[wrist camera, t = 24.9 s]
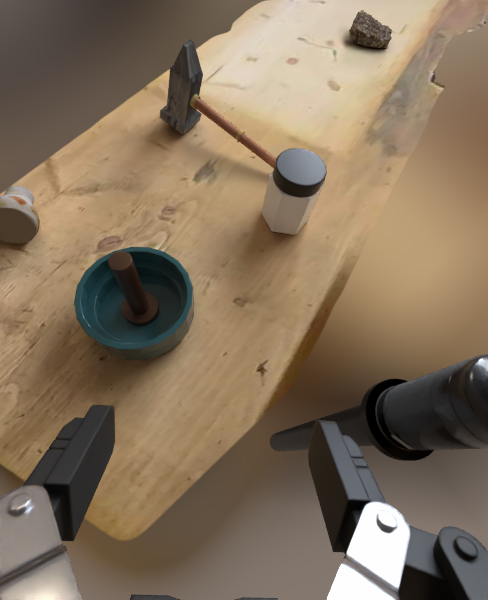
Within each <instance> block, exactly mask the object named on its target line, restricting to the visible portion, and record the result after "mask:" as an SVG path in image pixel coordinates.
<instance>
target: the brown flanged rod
mask: <svg viewBox="0 0 488 600" xmlns="http://www.w3.org/2000/svg"><path fill="white" fill-rule="evenodd" d="M108 264H109V266H110V268H111V270H112V272H113V274H114V276H115V278H116V280H117V282H118V284H119V286H120V288H121V290H122V292H123V294H124V296H125V298H126V299H125V300H124V302H123V305H122V312H123V315H124V317H125V318H126V320H127V321H128V322H129V323H131V324H133V325H136V326H144V325H147V324H149V323H151V322H152V321H154V320H155V319H156V317H157V315H158V313H159V305H158V302H157V299H156V298H155V297H154V296H153V295H152V294H150V293H148V292H144V290H143V287H142V284H141V282H140V279H139V276H138V273H137V271H136V268H135V265H134V263H133V260H132V257H131V255H130V254H128V253H127V252H124V251H118V252H115V253H113V254H112V255H111V256H110V257H109V260H108Z"/></svg>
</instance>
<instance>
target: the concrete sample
mask: <svg viewBox="0 0 488 600" xmlns="http://www.w3.org/2000/svg"><path fill="white" fill-rule="evenodd" d="M391 32H392V30H391V29H389V27H388V26H385V25H382V24H381V23H380V22H378V20H375V19H374V18H373V17H372V16H371V15H369V14H367V13H365V12H364V11H363V10H362V11H361V12H358V14H357V16H356V18H355V19H354V21H353V25H352V27H351V29H350V35H351V37H352V38H354V39H355V40H356V42H357V44H360V45H361V44H362V46H368V47H369V46H370V47H378V48H381V46H382V47H385V48H386V47H387V46H388V43H389V41H390V40H391V36H390V34H391Z"/></svg>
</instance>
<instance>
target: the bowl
mask: <svg viewBox="0 0 488 600" xmlns="http://www.w3.org/2000/svg"><path fill="white" fill-rule="evenodd" d="M118 251H124V252H127V253H128V254H130V255H131V257H132V260H133V263H134V265H135V268H136V271H137V273H138V276H139V279H140V282H141V284H142V287H143V290H144V292H148V293H150V294H152V295H153V296H154V297H155V298H156V299H157V302H158V305H159V313H158V315H157V317H156V319H155V320H154V321H152V322H151V323H149V324H147V325H144V326H136V325H133V324H131V323H129V322H128V321H127V320H126V318H125V317H124V315H123V312H122V305H123V302H124V300H125V299H126V298H125V296H124V294H123V292H122V290H121V288H120V286H119V284H118V282H117V280H116V278H115V276H114V274H113V272H112V270H111V268H110V266H109V264H108V260H109V257H110V256H111V255H112V254H113V253H115V252H118ZM74 305H75V311H76V316H77V320H78V321H79V323H80V324H81V326H82V327H83V329H84V331H85V332H86V333H87V334H88V336H89V337H90V338H91V339H92V340H93V341H94V342H95V343H96V344H97V345H98V346H100V347H101V348H102V349H104V350H105V351H106V352H108V353H109V354H110V355H113V356H116V357H119V358H123V359H126V360H146V359H150V358H153V357H156V356H159V355H162V354H164V353H166V352H167V351H169V350H170V349H172V348H173V347H175V346H176V345H177V344H178V343H179V342H180V341H181V339H182V338H183V337H184V336H185V335H186V333H187V332H188V330H189V327H190V325H191V322H192V320H193V316H194V298H193V287H192V284H191V281H190V278H189V275H188V272H187V271H186V270H185V269H184V267H183V266H182V265H181V264H180V262H179V261H178V260H176V259H175V258H173V257H171V256H170V255H168V254H167V253H165V252H162V251H159V250H156V249H152V248H149V247H130V248H125V249H121V250H117V251H114V252H112V253H110V254H108V255H106V256H104V257H102V258H100V259H98V260H97V261H96V262H95V263H94V264H93V265H92V266H91V267H90V268H89V269H88V270H86V272H85V273H84V275H83V277H82V279H81V280H80V282H79V284H78V285H77V290H76V295H75V300H74Z"/></svg>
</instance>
